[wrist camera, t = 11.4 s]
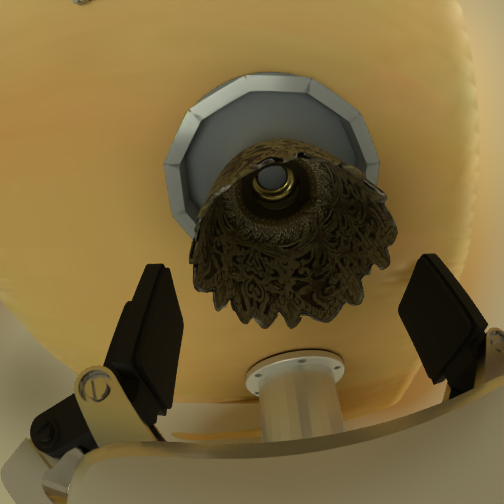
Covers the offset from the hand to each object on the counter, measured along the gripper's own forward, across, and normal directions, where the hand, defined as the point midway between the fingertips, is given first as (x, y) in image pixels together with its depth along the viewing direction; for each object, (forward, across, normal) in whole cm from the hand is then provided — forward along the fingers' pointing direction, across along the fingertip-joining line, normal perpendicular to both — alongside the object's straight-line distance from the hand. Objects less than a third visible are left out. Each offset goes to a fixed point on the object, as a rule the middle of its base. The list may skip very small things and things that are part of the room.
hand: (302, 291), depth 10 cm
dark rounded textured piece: (+8, 0, -1) cm, 9 cm away
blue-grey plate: (+9, 0, -2) cm, 9 cm away
